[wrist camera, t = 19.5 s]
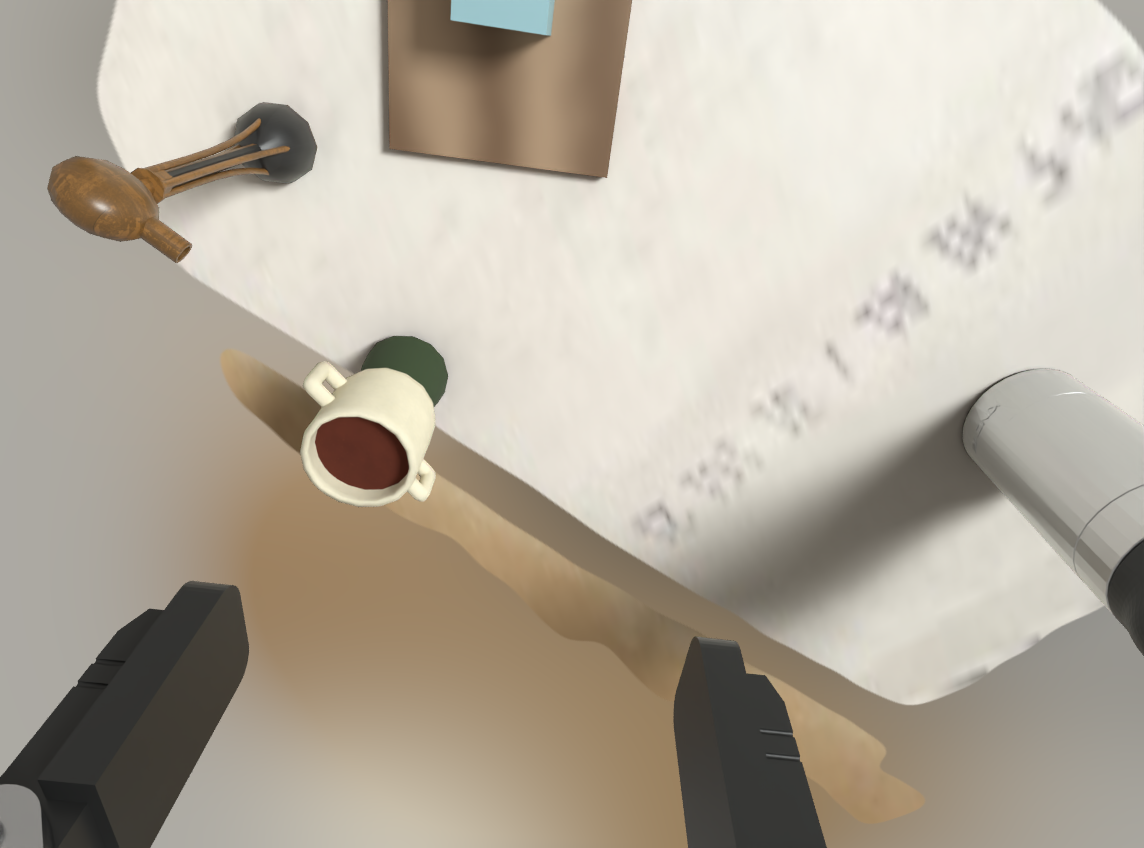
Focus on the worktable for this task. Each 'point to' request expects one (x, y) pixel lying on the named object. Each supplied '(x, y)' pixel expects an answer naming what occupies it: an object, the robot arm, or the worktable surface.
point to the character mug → (375, 424)
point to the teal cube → (506, 14)
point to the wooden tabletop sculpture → (179, 178)
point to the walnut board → (507, 85)
